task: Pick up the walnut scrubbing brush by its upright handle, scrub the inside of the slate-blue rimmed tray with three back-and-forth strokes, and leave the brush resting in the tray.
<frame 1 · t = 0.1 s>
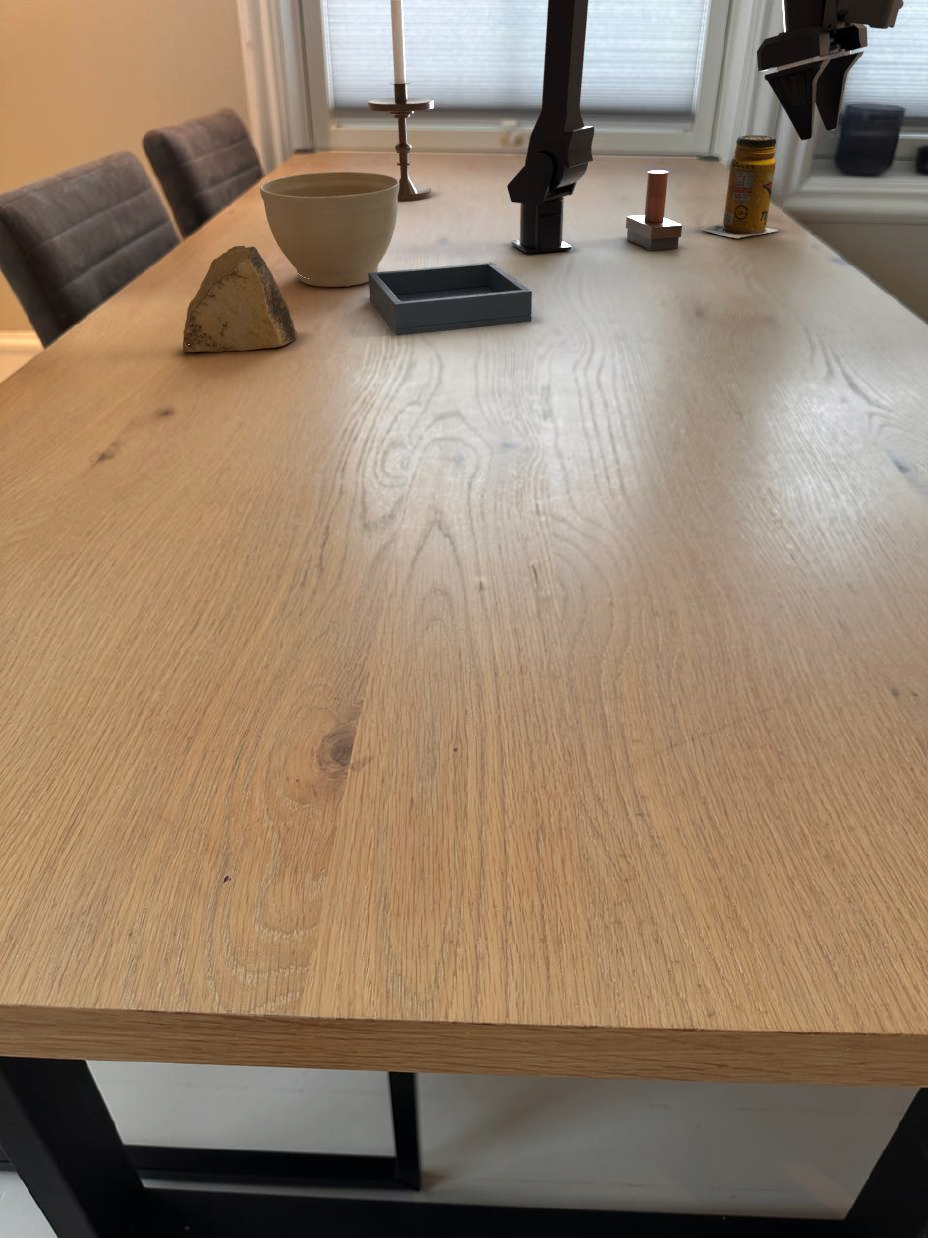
hand: (819, 134, 103), 15 cm above the table, tool pointing down, fingers open, 9 cm apart
rock: (239, 347, 94), on the table
planter bowl: (338, 280, 116), on the table
candlestick: (405, 196, 163), on the table
condiment: (738, 232, 135), on the table
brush: (651, 243, 129), on the table
tray: (447, 310, 103), on the table
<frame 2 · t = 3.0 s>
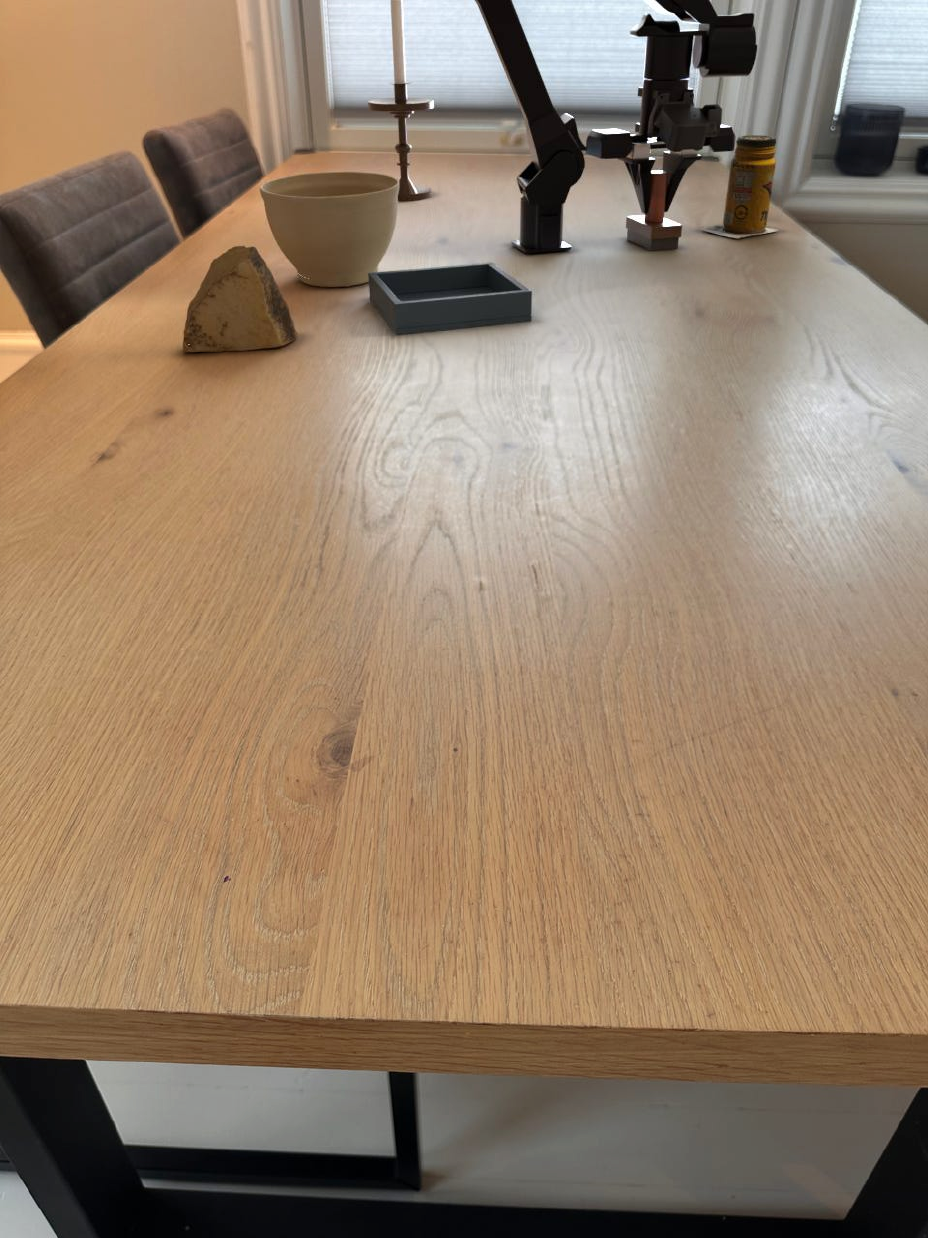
hand: (654, 212, 127), 4 cm above the table, tool pointing down, fingers closed on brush, 2 cm apart
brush: (651, 243, 129), on the table, touching gripper
everything else where it was.
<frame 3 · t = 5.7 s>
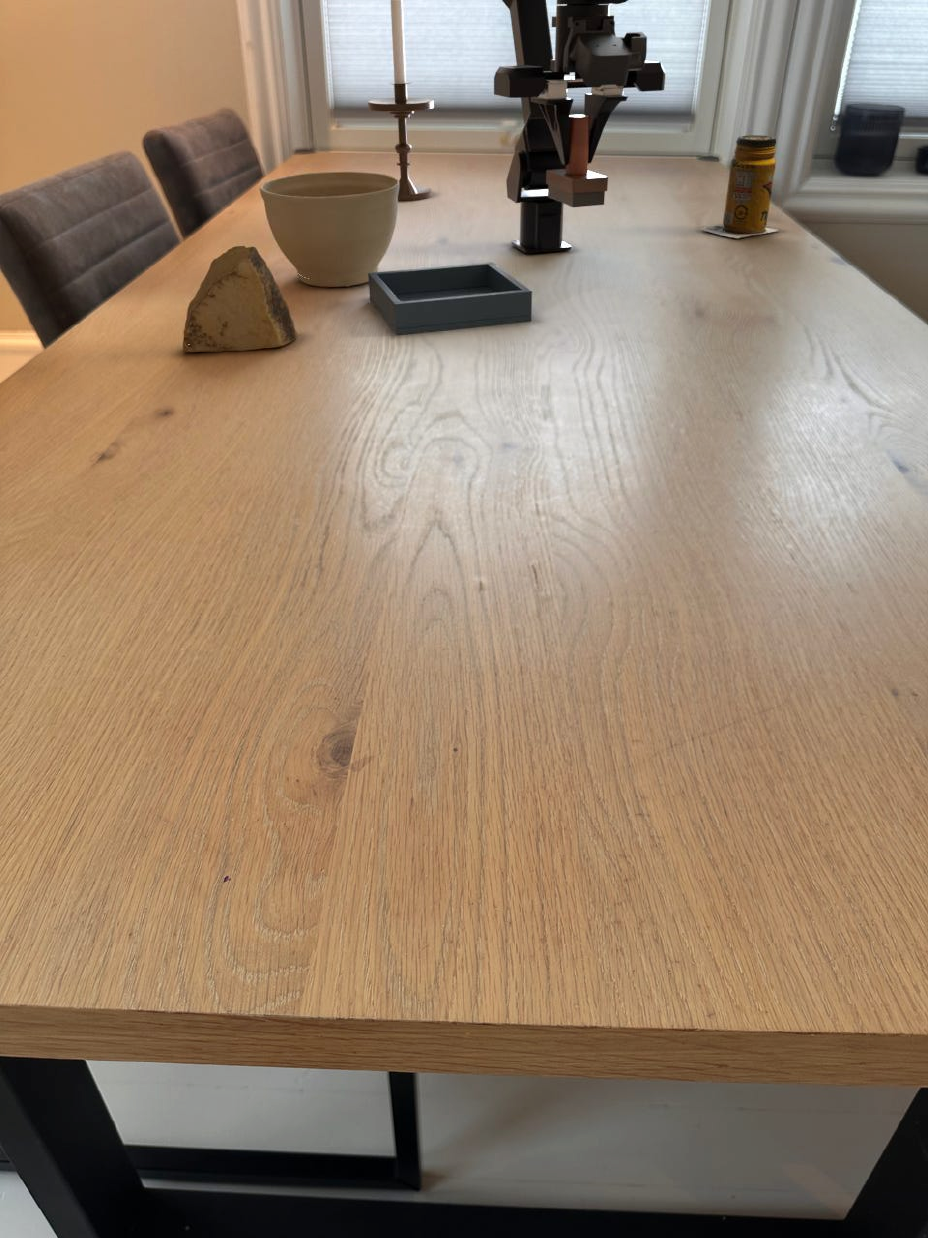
hand: (576, 163, 110), 12 cm above the table, tool pointing down, fingers closed on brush, 2 cm apart
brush: (575, 200, 113), point 8 cm above the table, touching gripper
everything else where it was.
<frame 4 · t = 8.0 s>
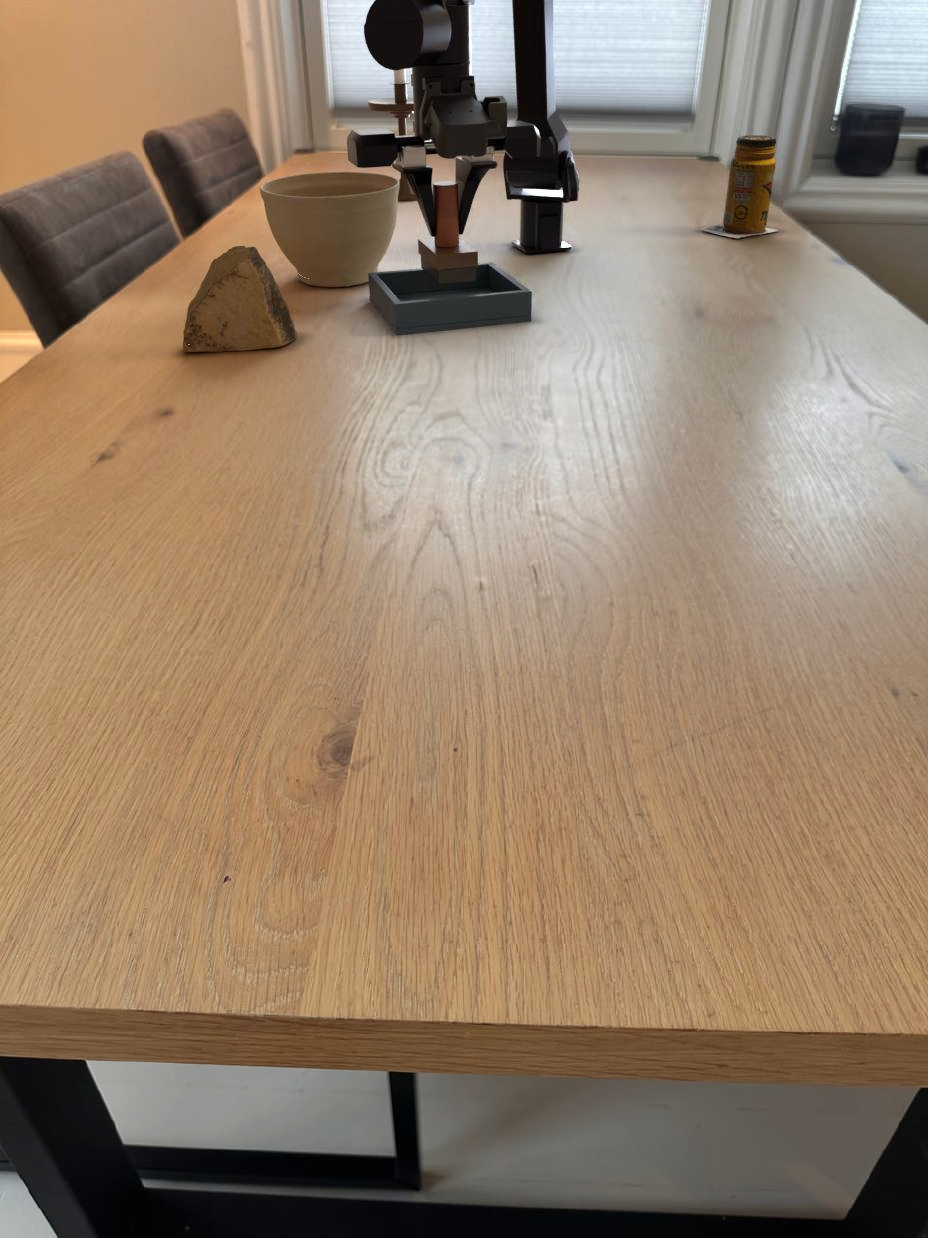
hand: (446, 234, 99), 8 cm above the table, tool pointing down, fingers closed on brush, 2 cm apart
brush: (447, 274, 101), point 4 cm above the table, touching gripper
everything else where it was.
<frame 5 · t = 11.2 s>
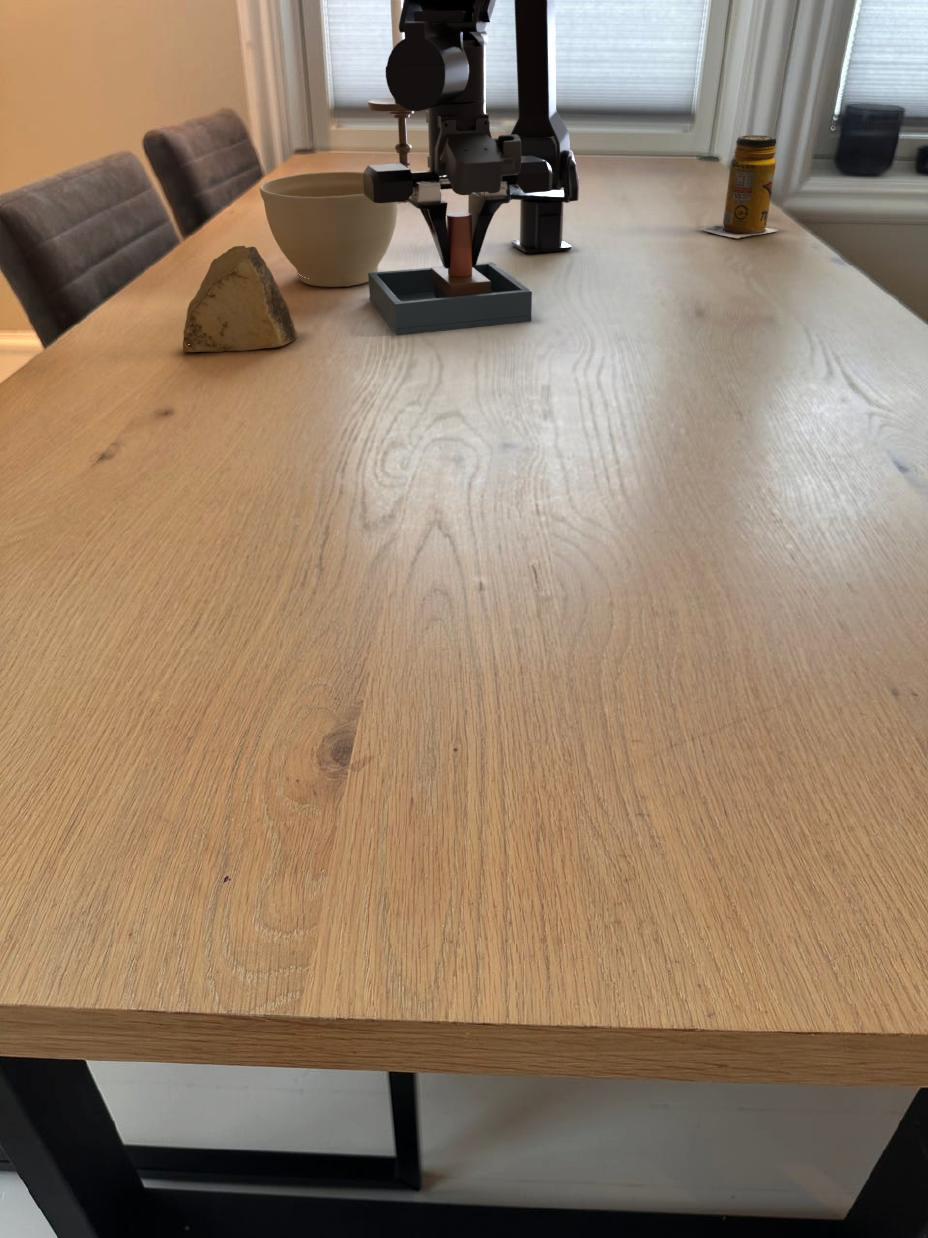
hand: (459, 266, 101), 5 cm above the table, tool pointing down, fingers closed on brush, 2 cm apart
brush: (460, 302, 103), point 1 cm above the table, touching gripper
everything else where it was.
when the fingers open (4 cm above the table, at t = 13.2 s): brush stays where it is, resting on tray.
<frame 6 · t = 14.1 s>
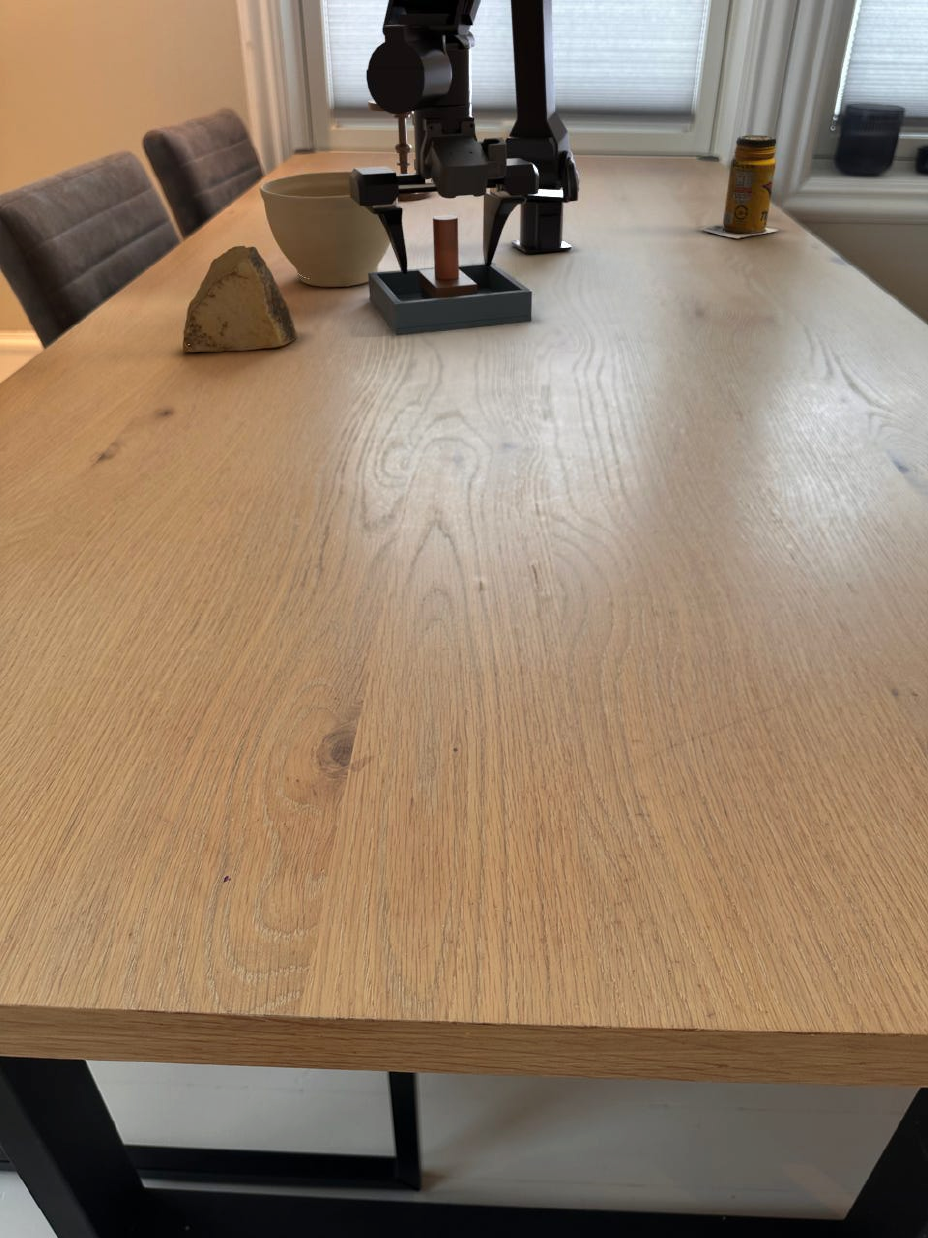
hand: (446, 269, 101), 4 cm above the table, tool pointing down, fingers open, 9 cm apart
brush: (447, 305, 103), point 1 cm above the table, touching tray
everything else where it was.
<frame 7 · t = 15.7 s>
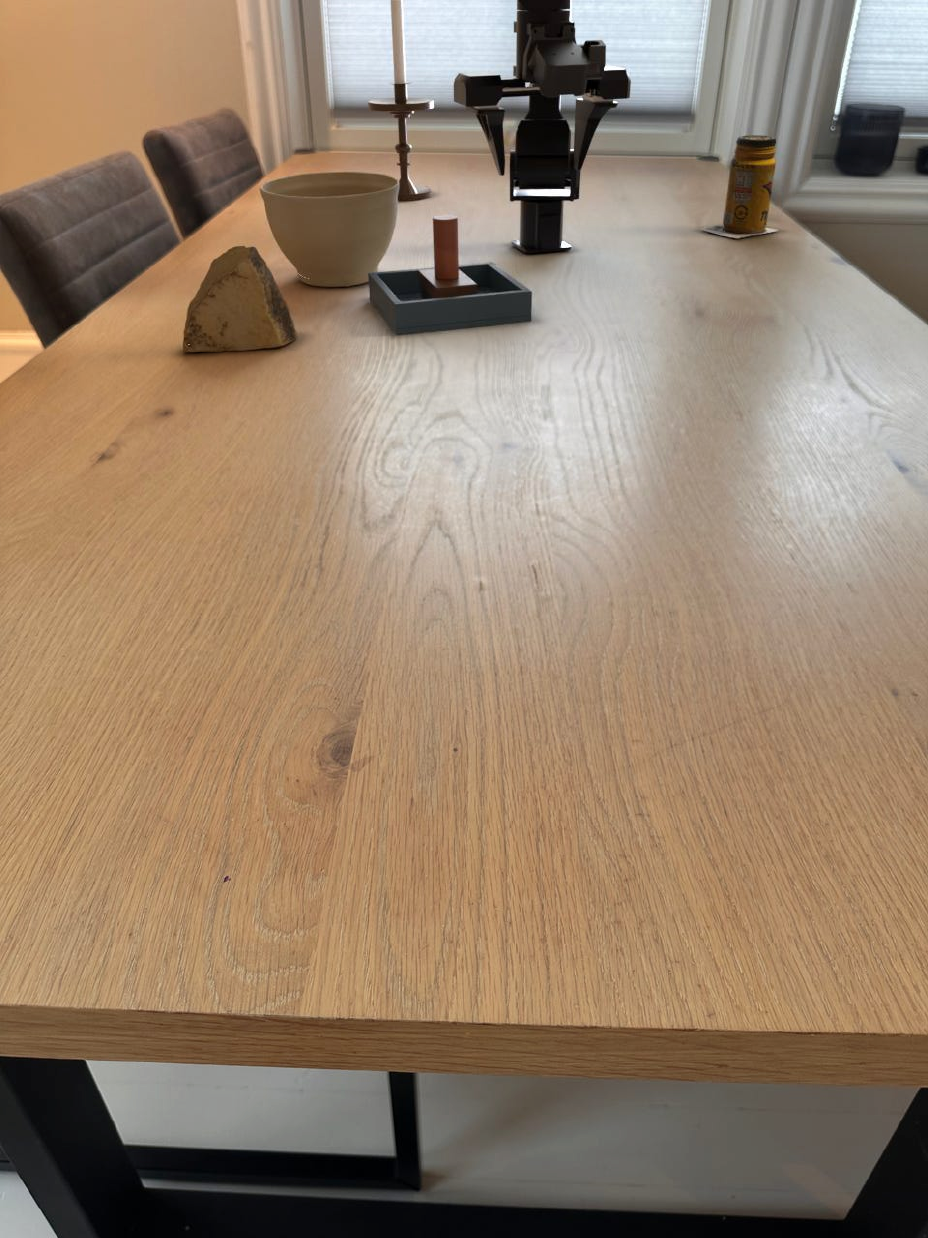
hand: (539, 172, 108), 12 cm above the table, tool pointing down, fingers open, 9 cm apart
nothing on the table moved.
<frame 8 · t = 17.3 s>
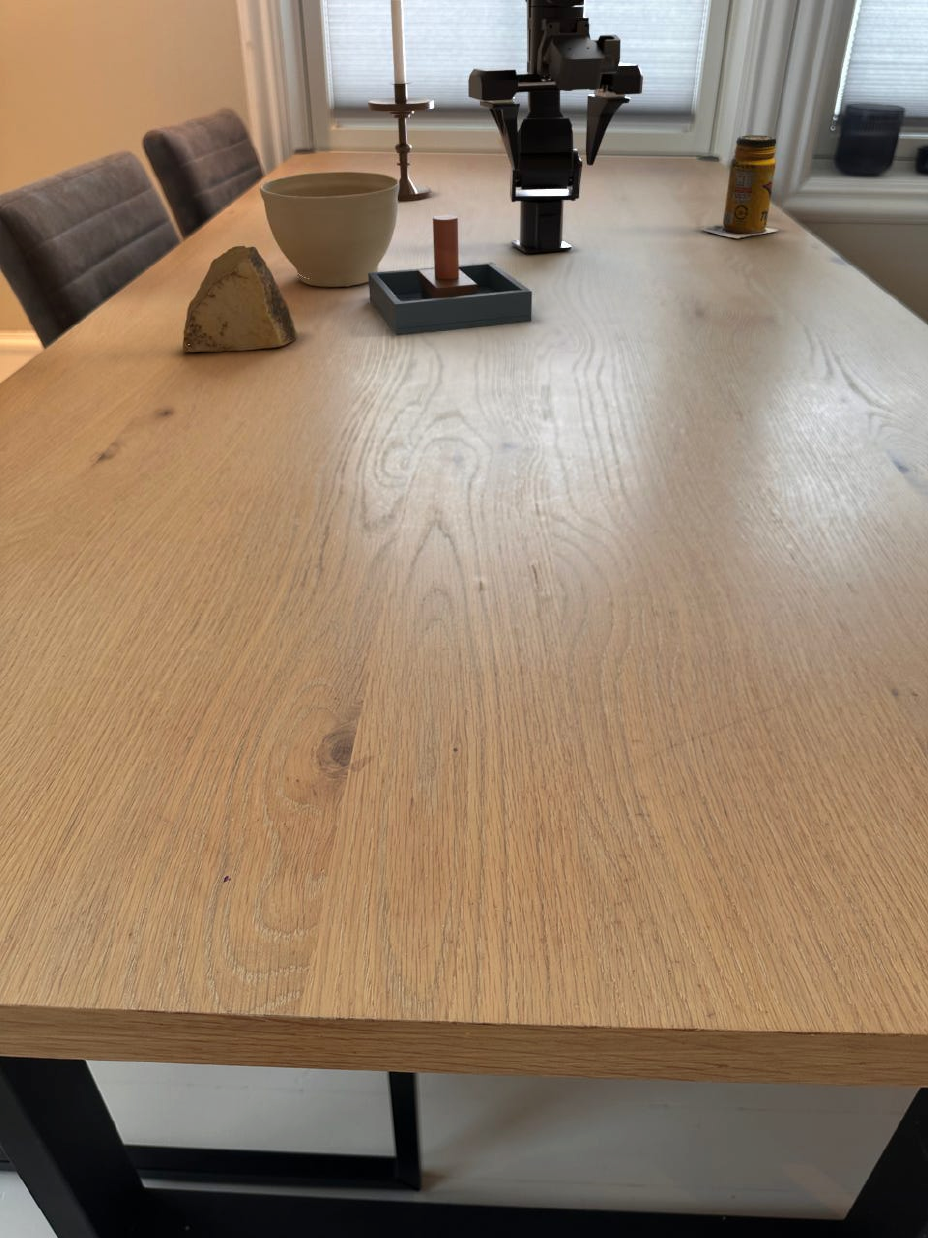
hand: (552, 167, 109), 12 cm above the table, tool pointing down, fingers open, 9 cm apart
nothing on the table moved.
at the end: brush inside the target area in the tray (0.0 cm from its centre), point 0.6 cm above the tray's base; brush tilted 0°; the gripper is holding nothing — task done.
